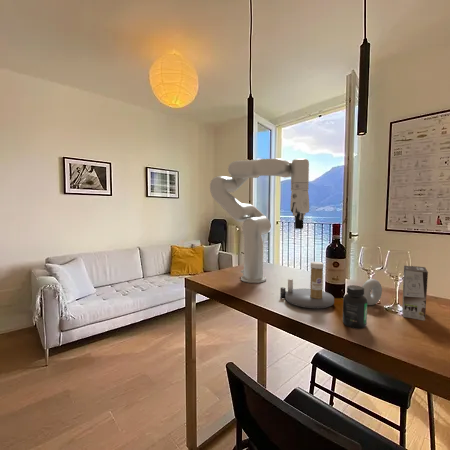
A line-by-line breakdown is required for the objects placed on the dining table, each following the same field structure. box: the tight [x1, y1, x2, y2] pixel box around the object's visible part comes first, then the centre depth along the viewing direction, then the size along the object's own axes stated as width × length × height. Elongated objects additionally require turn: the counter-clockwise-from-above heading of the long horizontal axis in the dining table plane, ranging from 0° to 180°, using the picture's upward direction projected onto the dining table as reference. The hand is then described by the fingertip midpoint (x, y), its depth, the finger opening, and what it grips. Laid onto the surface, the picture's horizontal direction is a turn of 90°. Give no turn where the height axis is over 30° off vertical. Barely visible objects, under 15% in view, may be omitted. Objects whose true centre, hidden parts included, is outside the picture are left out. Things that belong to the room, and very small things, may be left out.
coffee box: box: [401, 265, 429, 321], centre depth 94 cm, size 9×6×16 cm
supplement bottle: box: [342, 284, 368, 330], centre depth 87 cm, size 7×7×12 cm
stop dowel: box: [279, 287, 287, 300], centre depth 112 cm, size 2×2×4 cm
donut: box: [361, 278, 383, 306], centre depth 103 cm, size 10×3×10 cm, turn 117°
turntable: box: [284, 278, 335, 309], centre depth 107 cm, size 20×18×6 cm
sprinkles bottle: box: [309, 261, 324, 299], centre depth 104 cm, size 5×5×14 cm
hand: (299, 228), depth 123 cm, fingers closed
